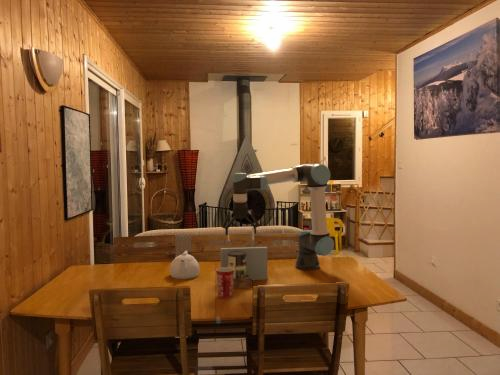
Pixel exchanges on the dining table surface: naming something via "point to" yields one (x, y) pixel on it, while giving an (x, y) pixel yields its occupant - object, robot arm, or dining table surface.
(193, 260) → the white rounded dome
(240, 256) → the coffee can
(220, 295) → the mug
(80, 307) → the dining table surface
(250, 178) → the robot arm
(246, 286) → the cleat ledge
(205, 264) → the dining table surface
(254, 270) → the backboard
